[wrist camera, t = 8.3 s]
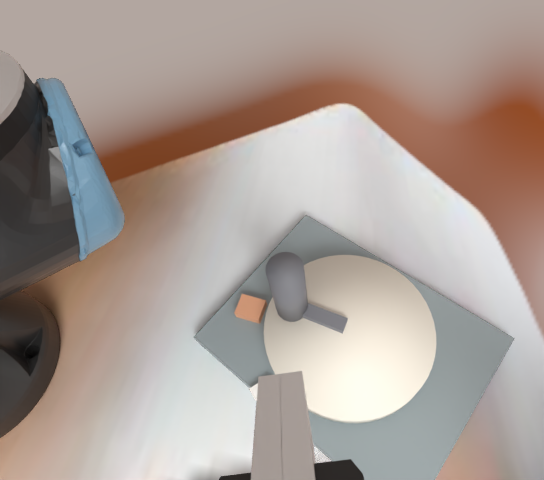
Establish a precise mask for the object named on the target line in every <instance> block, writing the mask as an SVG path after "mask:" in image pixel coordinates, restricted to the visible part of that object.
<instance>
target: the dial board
mask: <svg viewBox="0 0 544 480" xmlns="http://www.w3.org/2000/svg"><path fill="white" fill-rule="evenodd" d="M281 252H291V253H294V254H296V255H297V256H299V257H300V258H301V260H302V262H303V264H304V265H305V264H307V263H309V262H311V261H314V260H317V259H320V258H324V257H328V256H334V255H356V256H362V257H367V258H371V259H374V260H377V261H379V262H382V263H384V264H386V265H388V266H390V267H392V268H393V269H395V270H397V271H398V272H399V273H401V274H402V275H403V276H405V277H406V278H407V279H408V280H409V281H410V282H411V283H412V284H413V285H414V286H415V287H416V288H417V290H418V291H419V292H420V293H421V295H422V297H423V298H424V300H425V301H426V303H427V305H428V307H429V309H430V312H431V314H432V318H433V321H434V325H435V330H436V354H435V359H434V363H433V367H432V369H431V371H430V374H429V376H428V378H427V380H426V381H425V383H424V384H423V386H422V387H421V389H420V390H419V391H418V392H417V393H416V394H415V396H414V397H413V398H412V399H411V400H410V401H409V402H408V403H407V404H406V405H404V406H403V407H402V408H401V409H399V410H398V411H396V412H395V413H393V414H391V415H389V416H387V417H384V418H382V419H379V420H375V421H371V422H366V423H342V422H336V421H332V420H329V419H325V418H322V417H320V416H318V415H316V414H314V413H312V412H310V411H308V413H309V419H310V426H311V433H312V439H313V445H314V446H316V447H317V448H318V449H319V450H320V451H321V452H322V453H324V454H325V455H326V456H327V457H328V458H329V459H330V460H331V461H340V460H348V459H351V460H352V461H353V462H354V464H355V465H356V466H357V467H358V468H359V470H360V471H361V472H362V473H363V477H364V480H435V479H436V477H437V475H438V473H439V472H440V470H441V468H442V466H443V465H444V463H445V461H446V459H447V457H448V456H449V454H450V452H451V450H452V449H453V447H454V445H455V443H456V441H457V440H458V438H459V436H460V434H461V433H462V431H463V429H464V427H465V425H466V424H467V422H468V420H469V418H470V417H471V415H472V413H473V411H474V409H475V408H476V406H477V404H478V402H479V401H480V399H481V397H482V395H483V393H484V392H485V390H486V388H487V386H488V384H489V383H490V381H491V379H492V377H493V376H494V374H495V372H496V370H497V368H498V367H499V365H500V363H501V361H502V360H503V358H504V356H505V354H506V352H507V351H508V349H509V347H510V345H511V344H512V342H513V340H514V338H513V337H511V336H510V335H508V334H506V333H505V332H503V331H501V330H500V329H498V328H496V327H495V326H493V325H491V324H489V323H488V322H486V321H484V320H483V319H481V318H479V317H478V316H476V315H474V314H473V313H471V312H469V311H468V310H466V309H464V308H462V307H461V306H459V305H457V304H456V303H454V302H452V301H451V300H449V299H447V298H446V297H444V296H442V295H441V294H439V293H437V292H435V291H434V290H432V289H430V288H429V287H427V286H425V285H424V284H422V283H420V282H419V281H417V280H415V279H414V278H412V277H410V276H408V275H407V274H405V273H403V272H402V271H400V270H398V269H397V268H395V267H393V266H392V265H390V264H388V263H387V262H385V261H383V260H381V259H380V258H378V257H376V256H375V255H373V254H371V253H370V252H368V251H366V250H365V249H363V248H361V247H359V246H358V245H356V244H354V243H353V242H351V241H349V240H348V239H346V238H344V237H343V236H341V235H339V234H338V233H336V232H334V231H332V230H331V229H329V228H327V227H326V226H324V225H322V224H321V223H319V222H317V221H316V220H314V219H312V218H311V217H309V216H307V215H305V217H304V218H303V219H302V220H301V221H300V222H299V223H298V224H297V225H296V226H295V227H294V229H293V230H292V231H291V232H290V233H289V234H288V235H287V236H286V237H285V238H284V239H283V241H282V242H281V243H280V244H279V245H278V246H277V247H276V248H275V249H274V250H273V251H272V253H271V254H270V255H269V256H268V257H267V258H266V259H265V260H264V261H263V262H262V263H261V264H260V266H259V267H258V268H257V269H256V270H255V271H254V272H253V273H252V274H251V275H250V276H249V278H248V279H247V280H246V281H245V282H244V283H243V284H242V285H241V286H240V287H239V288H238V290H237V291H236V292H235V293H234V294H233V295H232V296H231V297H230V298H229V299H228V300H227V302H226V303H225V304H224V305H223V306H222V307H221V308H220V309H219V310H218V311H217V312H216V313H215V315H214V316H213V317H212V318H211V319H210V320H209V321H208V322H207V323H206V324H205V325H204V327H203V328H202V329H201V330H200V331H199V332H198V333H197V334H196V335H195V336H194V338H195V339H196V341H197V342H198V343H200V344H201V345H202V346H203V347H204V348H205V349H206V350H207V351H209V352H210V353H211V354H212V355H213V356H214V357H215V358H217V359H218V360H219V361H220V362H221V363H222V364H223V365H224V366H226V367H227V368H228V369H229V370H230V371H231V372H232V373H233V374H235V375H236V376H237V377H238V378H239V379H240V380H241V381H242V382H244V383H245V384H246V385H247V386H248V387H249V388H250V389H249V390H250V392H251V393H252V395H253V397H254V399H255V400H256V401H257V390H258V377H259V376H267V375H274V374H275V373H274V371H273V369H272V367H271V365H270V362H269V359H268V356H267V353H266V348H265V344H264V321H265V316H266V312H267V309H268V306H269V303H270V301H271V299H272V297H273V296H272V293H271V289H270V286H269V282H268V279H267V276H266V264H267V262H268V261H269V259H270V258H271V257H272V256H274V255H275V254H277V253H281Z"/></svg>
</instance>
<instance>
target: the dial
mask: <svg viewBox="0 0 544 480" xmlns="http://www.w3.org/2000/svg"><path fill="white" fill-rule="evenodd" d="M266 276H267V279H268V282H269V286H270V289H271V293H272V296H273V297H272V299H271V301H270V303H269V306H268V309H267V312H266V316H265V321H264V344H265V348H266V353H267V356H268V359H269V362H270V365H271V367H272V369H273V371H274V373H275V374H282V373H289V372H297V371H302V374H303V380H304V387H305V393H306V400H307V406H308V411H310V412H312V413H314V414H316V415H318V416H320V417H322V418H325V419H329V420H332V421H336V422H342V423H366V422H371V421H375V420H379V419H382V418H384V417H387V416H389V415H391V414H393V413H395V412H396V411H398V410H399V409H401V408H402V407H403V406H404V405H406V404H407V403H408V402H409V401H410V400H411V399H412V398H413V397H414V396H415V394H416V393H417V392H418V391H419V390H420V389H421V387H422V386H423V384H424V383H425V381H426V380H427V378H428V376H429V374H430V371H431V369H432V367H433V363H434V359H435V354H436V330H435V325H434V321H433V318H432V314H431V312H430V309H429V307H428V305H427V303H426V301H425V300H424V298H423V297H422V295H421V293H420V292H419V291H418V290H417V288H416V287H415V286H414V285H413V284H412V283H411V282H410V281H409V280H408V279H407V278H406V277H405V276H403V275H402V274H401V273H399V272H398V271H397V270H395V269H393V268H392V267H390V266H388V265H386V264H384V263H382V262H379V261H377V260H374V259H371V258H367V257H362V256H356V255H334V256H328V257H324V258H320V259H317V260H314V261H311V262H309V263H307V264H305V265H304V264H303V262H302V260H301V258H300V257H299V256H297V255H296V254H294V253H291V252H281V253H277V254H275V255H274V256H272V257H271V258H270V259H269V261H268V262H267V264H266Z"/></svg>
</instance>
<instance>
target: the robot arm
mask: <svg viewBox="0 0 544 480" xmlns="http://www.w3.org/2000/svg"><path fill="white" fill-rule="evenodd" d="M124 222H125V217H124V212H123V210H122V208H121V205H120V203H119V201H118V199H117V197H116V194H115V192H114V190H113V188H112V186H111V184H110V182H109V179H108V177H107V175H106V173H105V171H104V169H103V167H102V164H101V162H100V160H99V158H98V156H97V154H96V152H95V150H94V147H93V145H92V143H91V141H90V139H89V137H88V135H87V133H86V130H85V128H84V126H83V124H82V122H81V120H80V118H79V116H78V113H77V111H76V109H75V108H74V105H73V103H72V101H71V99H70V97H69V95H68V93H67V91H66V89H65V86H64V84H63V83H62V82H61V81H60V80H59V79H56V78H50V79H44V78H42V79H41V78H39V79H37V80H36V83H35V84H33V83H32V81H31V80H30V79H29V77H28V76H27V74H26V73H25V72H24V70H23V69H22V68H21V66H20V65H19V64H18V62H17V61H16V60H15V59H14V58H13V57H11V56H10V55H9V54H7V53H5V52H3V51H0V438H1V437H2V436H4V435H5V434H6V433H8V432H9V431H10V430H12V429H13V428H14V427H15V426H16V425H17V424H18V423H20V422H21V421H22V420H23V419H24V418H25V417H26V416H27V415H28V413H29V412H30V411H31V410H32V409H33V407H34V406H35V405H36V404H37V402H38V401H39V399H40V398H41V396H42V395H43V393H44V392H45V390H46V388H47V386H48V384H49V382H50V380H51V378H52V376H53V373H54V370H55V367H56V364H57V360H58V355H59V347H60V337H59V330H58V326H57V323H56V321H55V318H54V317H53V315H52V313H51V312H50V311H49V310H48V309H47V308H46V307H45V306H44V305H43V304H42V303H40V302H39V301H37V300H36V299H34V298H32V297H31V296H29V295H28V294H26V293H24V292H21V291H20V290H22V289H24V288H26V287H28V286H30V285H32V284H34V283H36V282H38V281H40V280H42V279H44V278H46V277H48V276H50V275H52V274H54V273H56V272H58V271H60V270H62V269H64V268H66V267H68V266H70V265H72V264H74V263H76V262H78V261H82V260H84V259H86V257H87V255H88V254H90V253H92V252H93V251H95V250H97V249H98V248H100V247H102V246H103V245H105V244H107V243H108V242H110V241H112V240H113V239H115V238H116V237H117V236H118V235H119V233H120V232H121V230H122V229H123V226H124ZM219 480H364V477H363V473H362V472H361V471H360V470H359V468H358V467H357V466H356V465H355V464H354V462H353V461H352V460H351V459H348V460H340V461H332V462H324V463H315V455H314V447H313V439H312V433H311V426H310V419H309V413H308V406H307V400H306V393H305V387H304V380H303V374H302V371H297V372H289V373H282V374H274V375H267V376H259V377H258V390H257V403H256V416H255V430H254V443H253V456H252V470H251V473H245V474H237V475H229V476H221V477H220V479H219Z"/></svg>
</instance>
